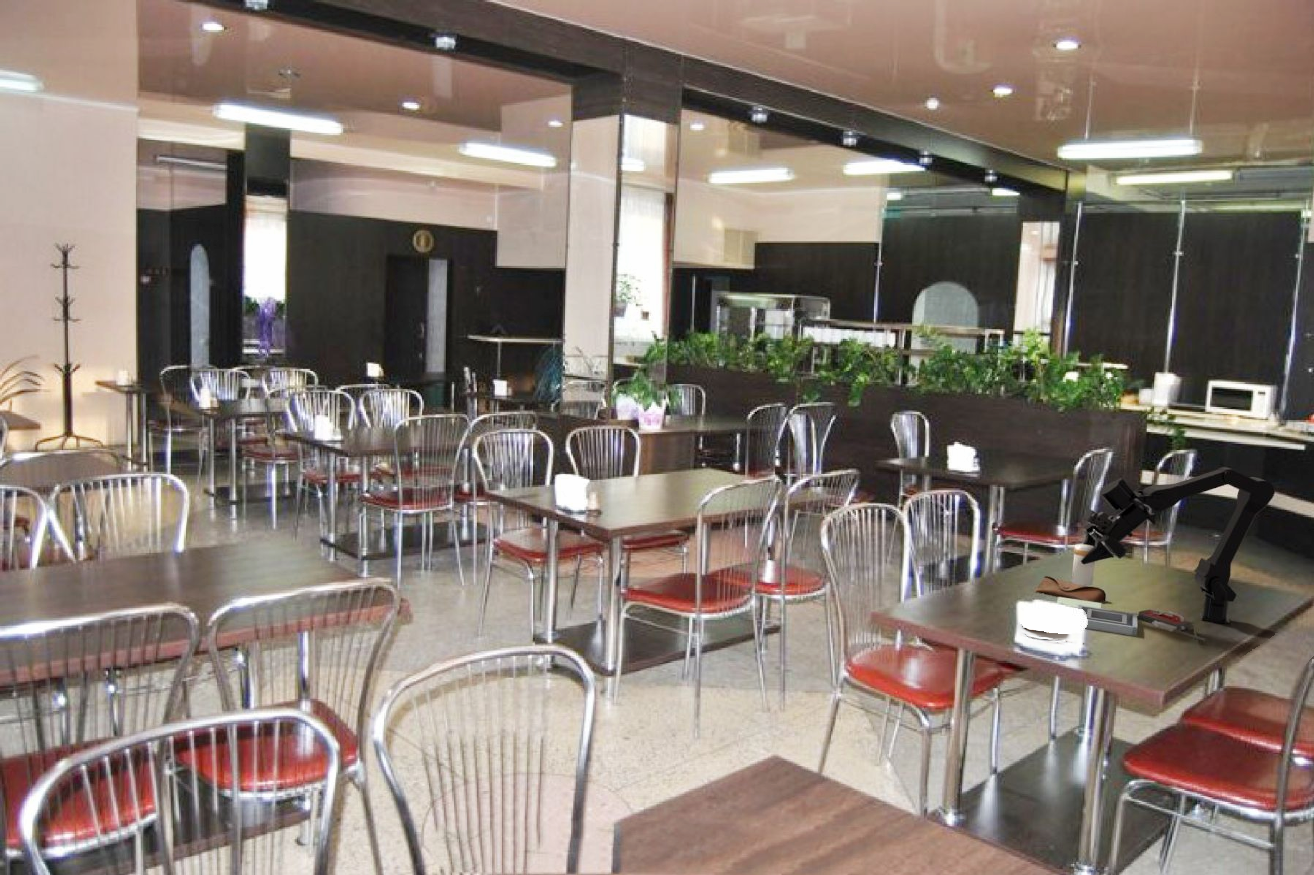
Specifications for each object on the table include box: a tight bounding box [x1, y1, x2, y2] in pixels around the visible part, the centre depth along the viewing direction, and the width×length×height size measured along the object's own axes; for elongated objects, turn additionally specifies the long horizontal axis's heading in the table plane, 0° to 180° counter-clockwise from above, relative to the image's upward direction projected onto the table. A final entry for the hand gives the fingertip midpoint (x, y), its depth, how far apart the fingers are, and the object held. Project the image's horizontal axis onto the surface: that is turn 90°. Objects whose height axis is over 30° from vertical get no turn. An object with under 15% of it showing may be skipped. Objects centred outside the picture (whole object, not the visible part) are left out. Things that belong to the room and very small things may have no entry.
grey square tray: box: [1078, 605, 1138, 637], centre depth 254 cm, size 14×14×3 cm
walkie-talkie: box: [1137, 609, 1206, 643], centre depth 254 cm, size 9×4×20 cm
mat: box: [1056, 597, 1103, 608], centre depth 270 cm, size 11×11×1 cm
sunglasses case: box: [1034, 575, 1107, 603], centre depth 283 cm, size 18×7×7 cm, turn 46°
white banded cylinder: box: [1071, 543, 1096, 587], centre depth 268 cm, size 5×5×10 cm
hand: (1078, 560), depth 268 cm, fingers closed on white banded cylinder, 5 cm apart
